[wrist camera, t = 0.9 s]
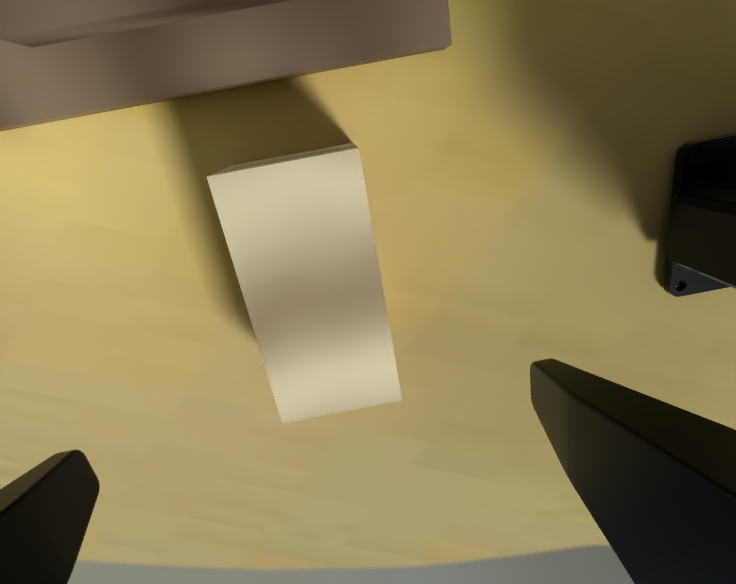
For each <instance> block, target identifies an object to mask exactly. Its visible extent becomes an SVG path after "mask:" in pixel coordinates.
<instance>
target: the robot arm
mask: <svg viewBox="0 0 736 584" xmlns="http://www.w3.org/2000/svg"><path fill="white" fill-rule="evenodd" d="M693 151H694V153H695V154H694V157H693V158H692V160H690V155H691V153H692V152H693ZM678 282H680V284H679V285H678V286H677V287H676V284H677V283H678ZM727 287H733V288H735V289H736V133H734V134H729V135H724V136H719V137H713V138H708V139H703V140H697V141H692V142H688V143H686V144H684V145H683V146H682V147H680V149H679V151H678V152H677V155H676V162H675V172H674V182H673V193H672V203H671V213H670V223H669V234H668V244H667V254H666V264H665V275H664V290H665V291H666V292H668V293H670V294H672V295H674V296H676V297H679V296H685V295H690V294H696V293H701V292H706V291H711V290H716V289H721V288H727ZM530 383H531V400H532V404H533V407H534V409H535V411H536V413H537V415H538V418H539V420H540V422H541V424H542V426H543V428H544V430H545V432H546V434H547V436H548V438H549V440H550V442H551V444H552V446H553V448H554V450H555V452H556V454H557V457H558V459H559V461H560V463H561V465H562V467H563V469H564V471H565V473H566V474H567V476H568V478H569V480H570V481H571V483H572V485H573V486H574V488H575V490H576V491H577V493H578V494H579V496H580V498H581V499H582V501H583V502H584V504H585V506H586V507H587V509H588V510H589V512H590V514H591V515H592V517H593V518H594V520H595V521H596V523H597V525H598V526H599V528H600V529H601V531H602V533H603V534H604V536H605V537H606V539H607V540H608V542H609V544H610V545H611V547H612V548H613V550H614V551H615V553H616V554H617V556H618V558H619V559H620V561H621V563H622V564H623V566H624V567H625V569H626V571H627V572H628V574H629V575H630V577H631V578H632V580H633V582H634V583H635V584H736V430H735V429H732V428H730V427H727V426H724V425H722V424H719V423H717V422H714V421H712V420H709V419H706V418H704V417H701V416H699V415H696V414H694V413H691V412H689V411H686V410H683V409H681V408H678V407H676V406H673V405H671V404H668V403H665V402H663V401H660V400H658V399H655V398H653V397H650V396H648V395H645V394H642V393H640V392H637V391H635V390H632V389H630V388H627V387H624V386H622V385H619V384H617V383H614V382H612V381H609V380H607V379H604V378H601V377H599V376H596V375H594V374H591V373H589V372H586V371H583V370H581V369H578V368H576V367H573V366H571V365H568V364H566V363H563V362H560V361H558V360H555V359H545V360H540V361H534V362H533V363H532V364H531V367H530ZM98 494H99V480H98V478H97V476H96V474H95V472H94V471H93V469H92V467H91V465H90V463H89V461H88V460H87V458H86V456H85V454H84V453H83V452H82V451H80V450H71V451H66V452H60V453H57V454H54V455H53V456H51V457H50V458H48V459H47V460H45V461H43V462H42V463H40V464H39V465H37V466H36V467H34V468H33V469H31V470H30V471H28V472H26V473H25V474H23V475H22V476H20V477H19V478H17V479H16V480H14V481H13V482H11V483H10V484H8V485H6V486H5V487H3V488H2V489H0V584H67V583H68V581H69V578H70V576H71V573H72V571H73V568H74V565H75V562H76V560H77V557H78V554H79V551H80V548H81V545H82V542H83V539H84V536H85V533H86V530H87V527H88V524H89V521H90V518H91V515H92V512H93V509H94V506H95V503H96V500H97V497H98Z"/></svg>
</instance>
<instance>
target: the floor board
mask: <svg viewBox="0 0 736 584" xmlns="http://www.w3.org/2000/svg"><path fill="white" fill-rule="evenodd" d="M450 45H452V43H451V31H450V20H449V8H448V0H0V131H4V130H9V129H15V128H20V127H26V126H31V125H37V124H42V123H47V122H53V121H58V120H64V119H69V118H74V117H80V116H85V115H91V114H96V113H101V112H107V111H112V110H118V109H123V108H129V107H134V106H139V105H145V104H150V103H156V102H161V101H166V100H172V99H177V98H183V97H188V96H193V95H199V94H204V93H210V92H215V91H220V90H226V89H231V88H237V87H242V86H248V85H253V84H258V83H264V82H269V81H275V80H280V79H285V78H291V77H296V76H302V75H307V74H312V73H318V72H323V71H329V70H334V69H340V68H345V67H350V66H356V65H361V64H367V63H372V62H377V61H383V60H388V59H394V58H399V57H404V56H410V55H415V54H421V53H426V52H432V51H437V50H442V49H445V48H447V47H448V46H450Z"/></svg>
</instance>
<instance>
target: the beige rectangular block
mask: <svg viewBox="0 0 736 584" xmlns="http://www.w3.org/2000/svg"><path fill="white" fill-rule="evenodd" d="M207 180H208V183H209V187H210V190H211V193H212V196H213V200H214V203H215V206H216V209H217V213H218V216H219V219H220V222H221V226H222V229H223V232H224V235H225V239H226V242H227V245H228V248H229V252H230V255H231V258H232V261H233V265H234V268H235V271H236V274H237V278H238V281H239V284H240V287H241V291H242V294H243V297H244V300H245V304H246V307H247V310H248V313H249V317H250V320H251V323H252V326H253V330H254V333H255V336H256V339H257V343H258V346H259V349H260V352H261V356H262V359H263V362H264V365H265V369H266V372H267V375H268V378H269V382H270V385H271V388H272V391H273V395H274V398H275V401H276V404H277V408H278V411H279V414H280V417H281V421H282V423H288V422H293V421H298V420H303V419H308V418H313V417H318V416H323V415H328V414H333V413H338V412H343V411H349V410H354V409H359V408H364V407H369V406H374V405H379V404H384V403H389V402H394V401H399V400H402V397H401V391H400V385H399V380H398V374H397V368H396V362H395V356H394V350H393V345H392V339H391V333H390V327H389V321H388V316H387V310H386V304H385V298H384V292H383V287H382V281H381V275H380V269H379V263H378V258H377V252H376V246H375V240H374V234H373V228H372V223H371V217H370V211H369V205H368V199H367V194H366V188H365V182H364V176H363V170H362V165H361V159H360V153H359V148H358V147H357V146H356V145H355V144H353V143H346V144H341V145H336V146H330V147H325V148H320V149H314V150H309V151H304V152H298V153H293V154H288V155H283V156H277V157H272V158H267V159H261V160H256V161H251V162H245V163H240V164H235V165H232V166H229V167H227V168H225V169H223V170H220V171H218V172H216V173H214V174H211V175H209V176H207Z"/></svg>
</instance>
